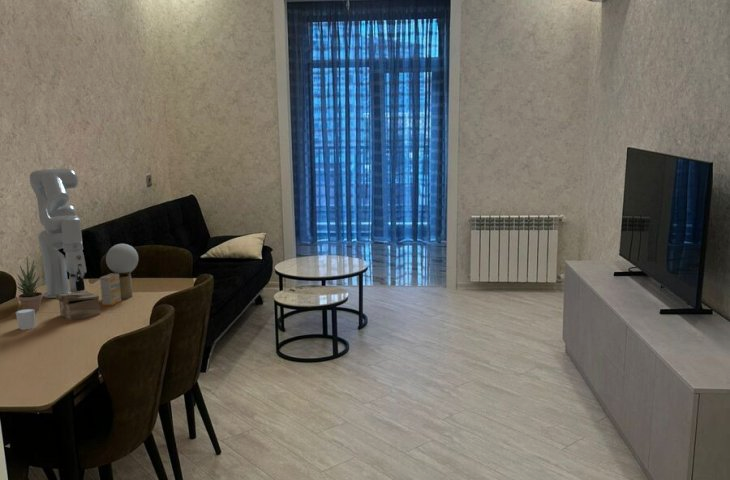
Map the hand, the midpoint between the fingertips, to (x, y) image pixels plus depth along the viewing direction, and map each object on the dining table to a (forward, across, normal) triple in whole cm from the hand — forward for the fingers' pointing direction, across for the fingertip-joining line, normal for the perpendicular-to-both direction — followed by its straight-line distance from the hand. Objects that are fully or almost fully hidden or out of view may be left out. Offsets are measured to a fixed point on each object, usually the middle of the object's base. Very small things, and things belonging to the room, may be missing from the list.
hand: (77, 288), depth 284 cm
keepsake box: (+11, 0, 0) cm, 11 cm away
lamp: (+11, +14, -26) cm, 32 cm away
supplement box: (+12, +7, -17) cm, 22 cm away
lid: (+5, 0, 0) cm, 5 cm away
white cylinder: (+12, -2, +22) cm, 25 cm away
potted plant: (+11, +23, +12) cm, 29 cm away
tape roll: (+1, 0, 0) cm, 1 cm away
